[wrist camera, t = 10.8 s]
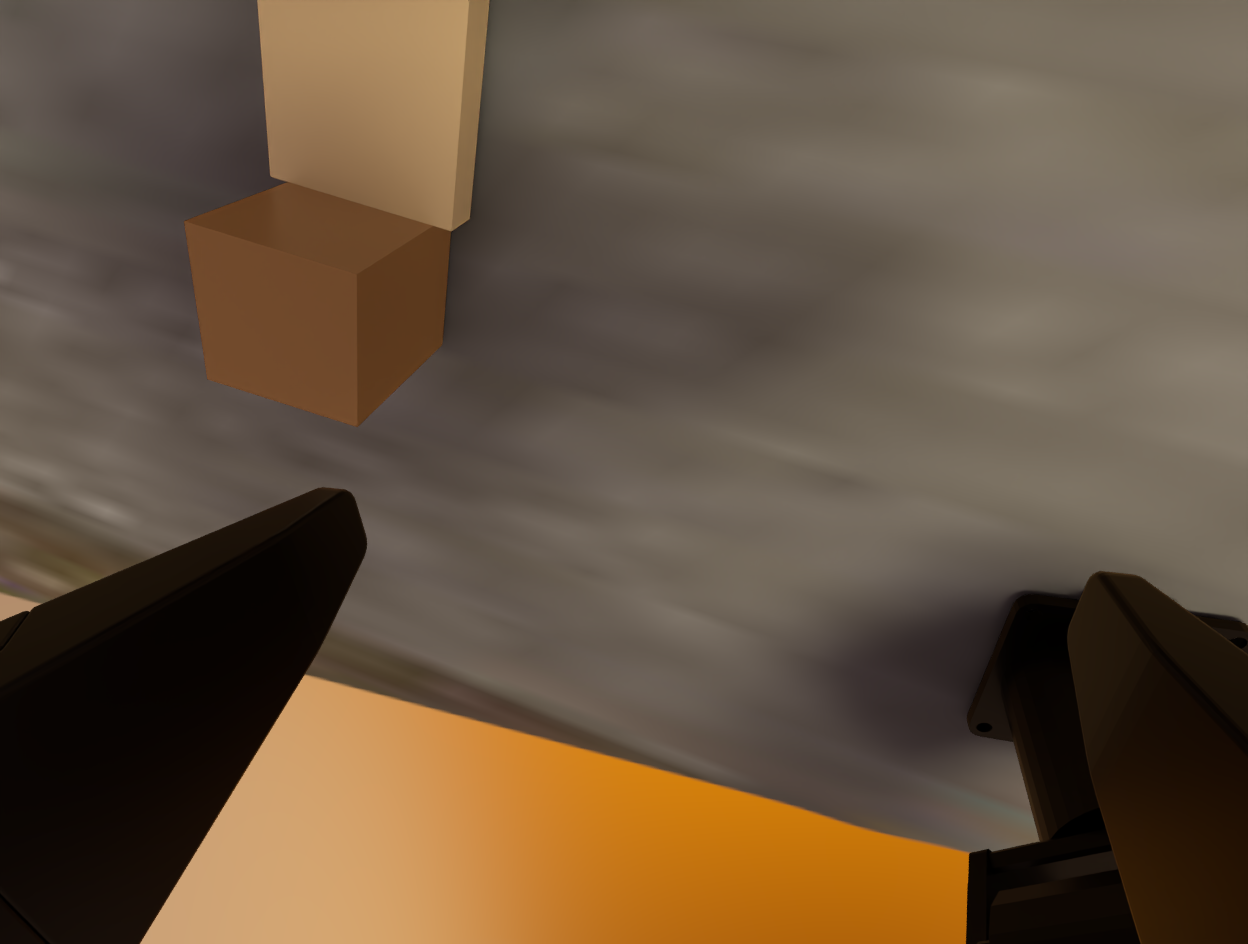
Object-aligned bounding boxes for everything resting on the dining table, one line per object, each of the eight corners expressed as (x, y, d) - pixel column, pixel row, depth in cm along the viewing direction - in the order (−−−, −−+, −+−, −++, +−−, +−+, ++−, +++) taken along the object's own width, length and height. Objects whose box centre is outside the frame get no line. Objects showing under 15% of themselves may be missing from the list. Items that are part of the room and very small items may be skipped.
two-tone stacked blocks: (457, 349, 22) (376, 433, 18) (304, 301, 22) (188, 373, 18) (537, -521, 12) (394, -780, 8) (258, -591, 12) (-17, -875, 8)
